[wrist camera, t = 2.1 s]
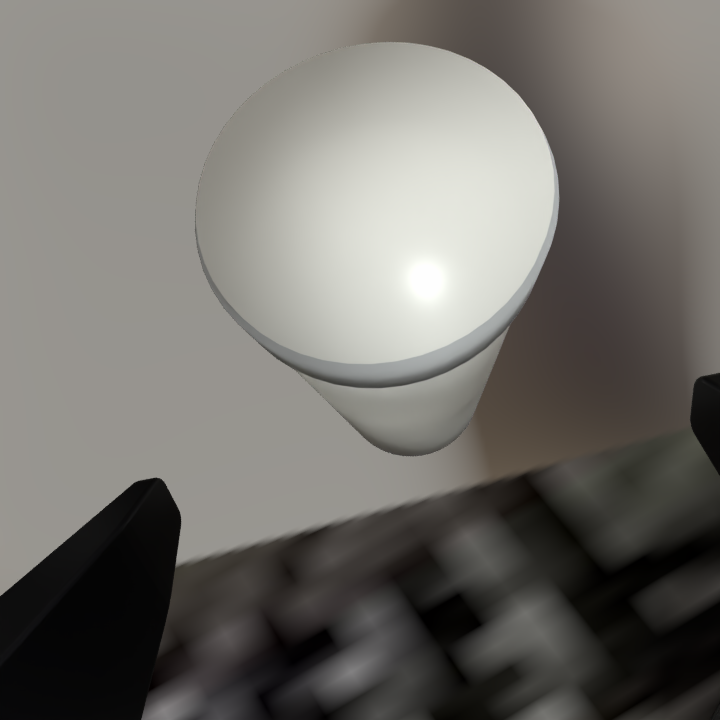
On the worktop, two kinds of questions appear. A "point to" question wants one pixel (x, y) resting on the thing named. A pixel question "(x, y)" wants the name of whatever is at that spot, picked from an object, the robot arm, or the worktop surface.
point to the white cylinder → (381, 231)
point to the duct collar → (716, 714)
